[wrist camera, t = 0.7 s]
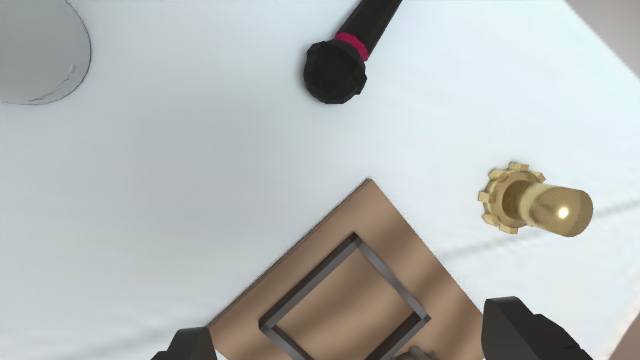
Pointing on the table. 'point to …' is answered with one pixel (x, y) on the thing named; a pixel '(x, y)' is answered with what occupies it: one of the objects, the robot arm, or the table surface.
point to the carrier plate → (353, 296)
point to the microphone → (347, 53)
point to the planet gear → (534, 203)
